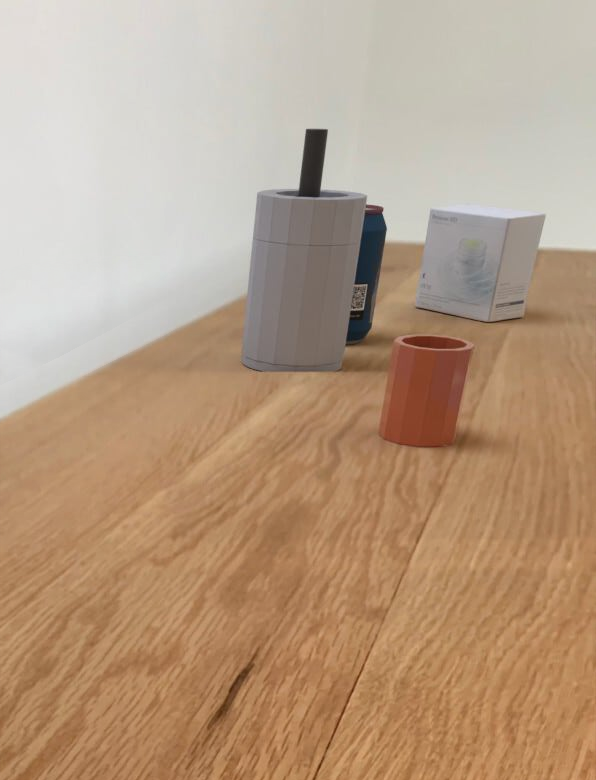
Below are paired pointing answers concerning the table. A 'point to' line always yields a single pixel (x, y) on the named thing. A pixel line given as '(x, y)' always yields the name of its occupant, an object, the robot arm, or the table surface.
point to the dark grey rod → (312, 162)
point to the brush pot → (425, 390)
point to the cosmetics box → (478, 261)
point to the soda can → (367, 274)
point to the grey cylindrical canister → (301, 280)
